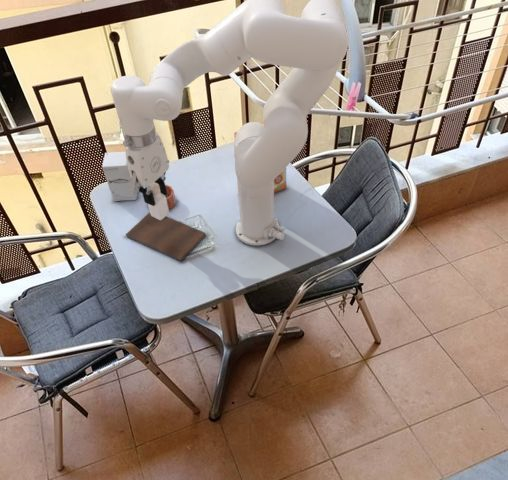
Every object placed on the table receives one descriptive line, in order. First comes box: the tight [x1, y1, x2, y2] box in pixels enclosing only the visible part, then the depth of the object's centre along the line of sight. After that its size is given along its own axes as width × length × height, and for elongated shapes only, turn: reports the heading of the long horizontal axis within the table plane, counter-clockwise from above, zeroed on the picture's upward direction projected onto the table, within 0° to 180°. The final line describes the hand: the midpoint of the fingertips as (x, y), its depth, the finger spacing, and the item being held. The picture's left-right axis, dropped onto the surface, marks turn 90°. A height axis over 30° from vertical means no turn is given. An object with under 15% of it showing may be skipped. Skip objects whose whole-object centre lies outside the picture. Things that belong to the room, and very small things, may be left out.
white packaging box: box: [101, 151, 138, 202], centre depth 141 cm, size 7×7×13 cm
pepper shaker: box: [147, 182, 170, 220], centre depth 124 cm, size 4×4×10 cm
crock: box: [165, 184, 177, 211], centre depth 141 cm, size 8×8×4 cm
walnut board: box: [125, 212, 207, 262], centre depth 134 cm, size 20×12×1 cm, turn 58°
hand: (156, 197), depth 123 cm, fingers closed on pepper shaker, 4 cm apart
